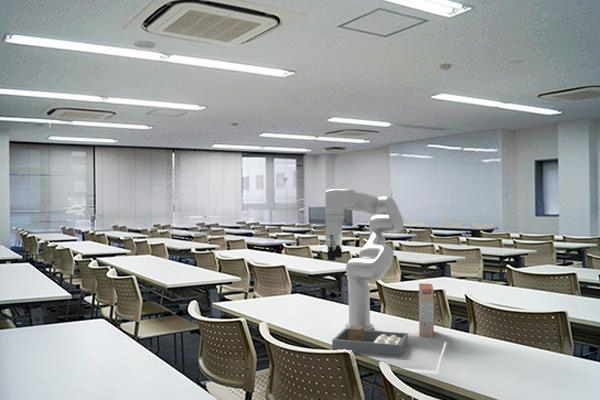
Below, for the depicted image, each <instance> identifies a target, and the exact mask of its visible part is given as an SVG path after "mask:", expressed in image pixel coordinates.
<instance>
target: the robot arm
mask: <svg viewBox="0 0 600 400" xmlns="http://www.w3.org/2000/svg"><path fill="white" fill-rule="evenodd" d="M324 195H325V196H324V197H325V198H324V199H325V200H324V201H325V202H324V203H325V223H326V224H325V225H326V228H325V246H327V260H328V261H335V260H336V259H337V258H338V259H340V258H343V253H342V251H343V249H342V248H343V246H342V243H343V225H342V223H344V210H349V211H353V212H362V213H367V214H370V215H371V214H372V215H373V216H372V217H370V219H369V223H368V229H369V238H368V240H367V241H366V243H365V244H364V245H363V247H362V248H361V250H360V252H359V253H358V257H354V258H351V259H349V260H348V261H347V262H346V267H345V271H346V277H347V283H348V323H346V324H345V329H348V328H349V327H350V326H364V330H371V331H372V330H373V329H374V324H373V323H371V307H370V306H371V305H370V304H371V301H370V298H371V297H370V295H371V294H370V293H371V292H370V291H371V290H370V286H369V284H368V282H367V281H370V282H377V281H378V282H379V281H381V279H382V278H383V277H384V276H385V274H386V273H387V272H388V270H389V269H390V267H391V266H392V263H393V261H394V257H395V256H394V255H395V253H394V250H393V248H392V247H391V246H389V245H387V240H386V238H385V236H384V235H383V233H394V234H395V233H400V232H402V230H403V229H404V220H403V219H404V218H403V215H402V214H401V212H400V209H399V206H398V205H397V203H396V201H395V199H394V198H393V197H391V196H388V195H387V196H382V195H381V196H377V195H372V194H369V193H366V192H365V193H364V192H356V191H355V190H354V189H351V188H342V189H341V188H340V189H339V188H334V189H327V190H326V191H325V194H324Z"/></svg>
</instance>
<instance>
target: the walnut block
mask: <svg viewBox="0 0 600 400" xmlns="http://www.w3.org/2000/svg"><path fill="white" fill-rule="evenodd" d="M348 340H350V341H361V342H364V326H350V327H349V328H348Z"/></svg>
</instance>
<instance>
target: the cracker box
mask: <svg viewBox="0 0 600 400" xmlns="http://www.w3.org/2000/svg"><path fill="white" fill-rule="evenodd" d="M418 284H419V285H418V298H419V299H418V301H419V302H418V306H419V308H418V312H419V313H418V324H419V325H418V330H419V337H420V338H431V339H433V338H434V331H435V329H434V327H435V326H434V325H435V324H434V323H435V321H434V319H435V317H434V307H435V305H434V303H435V302H434V300H435V299H434V298H435V296H434V295H435V293H434V292H435V291H434V289H435V288H434V287H433V284H432V283H418Z"/></svg>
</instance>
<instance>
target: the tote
mask: <svg viewBox="0 0 600 400" xmlns="http://www.w3.org/2000/svg"><path fill="white" fill-rule="evenodd" d="M382 334H384V335H386V336H387V337H391V336H392V335H395V336H397V337H399V338H401V341H400V343H399V344H398V345H396V344H385V343H374V341H375V340H376V339H377V337H378V336H381V335H382ZM331 342H332V344H331V345H332V346H331V347H332V348H331V349H332V351H334V350H337V349H346V350H352V351H353V352H352V353H358V354H359V353H360V354H368V355H369V354H370V355H379V356H380V355H381V356H388V357H391V356H392V357H399V358H402V355H403V353H404V352H405V349H406V348H407V346H408V344H409V333H406V332H396V331H395V332H394V331H383V330H382V331H381V330H372V329H371V330H364V342H361V341H350V340H348V329H347V328H344V329H342V330H341V331H340V332H339V333H337V334H336V336H335V337H333V338H332V341H331Z"/></svg>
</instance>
